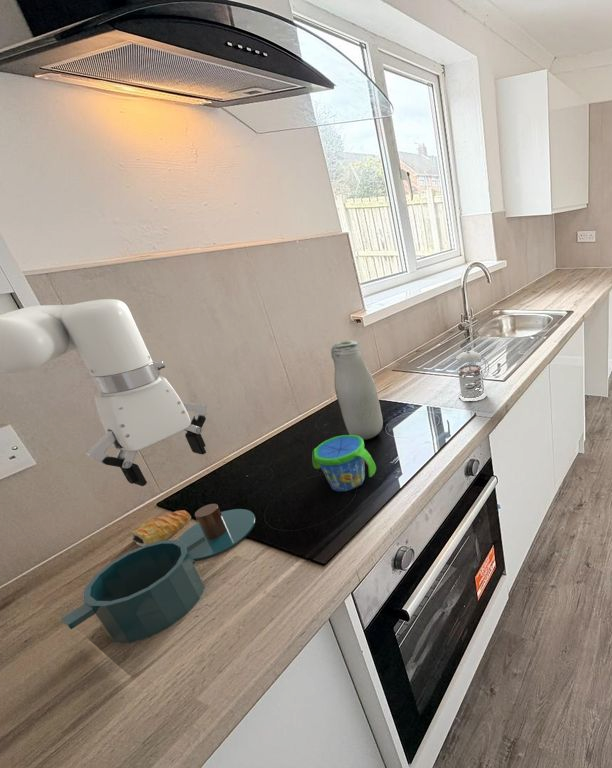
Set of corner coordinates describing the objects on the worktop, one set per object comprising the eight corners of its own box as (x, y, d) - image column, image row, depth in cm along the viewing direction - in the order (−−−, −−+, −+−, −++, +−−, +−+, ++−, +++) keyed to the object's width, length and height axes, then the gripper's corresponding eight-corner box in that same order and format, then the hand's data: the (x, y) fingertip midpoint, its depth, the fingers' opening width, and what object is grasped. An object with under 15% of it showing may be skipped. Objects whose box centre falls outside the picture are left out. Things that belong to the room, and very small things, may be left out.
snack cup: (390, 476, 98) (382, 439, 94) (359, 504, 89) (348, 465, 85) (340, 465, 104) (330, 429, 100) (306, 490, 95) (294, 452, 91)
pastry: (180, 514, 90) (173, 500, 88) (200, 521, 88) (193, 506, 86) (130, 545, 82) (122, 530, 81) (151, 553, 80) (142, 538, 78)
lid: (162, 550, 80) (148, 523, 78) (231, 506, 91) (221, 482, 89) (201, 572, 74) (187, 544, 72) (271, 523, 85) (261, 497, 83)
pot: (72, 641, 63) (43, 602, 60) (196, 556, 78) (179, 521, 75) (110, 676, 58) (81, 635, 55) (236, 578, 73) (219, 541, 69)
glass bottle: (373, 424, 122) (352, 333, 111) (392, 434, 116) (372, 339, 105) (342, 438, 116) (316, 343, 105) (360, 450, 109) (335, 350, 98)
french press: (452, 395, 138) (442, 322, 128) (481, 385, 144) (474, 315, 134) (468, 405, 130) (458, 328, 120) (498, 394, 136) (491, 320, 126)
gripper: (172, 358, 75) (208, 439, 81) (44, 398, 60) (100, 493, 67) (198, 361, 72) (232, 445, 78) (69, 404, 57) (125, 503, 64)
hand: (171, 467), depth 73 cm, fingers open, 9 cm apart
